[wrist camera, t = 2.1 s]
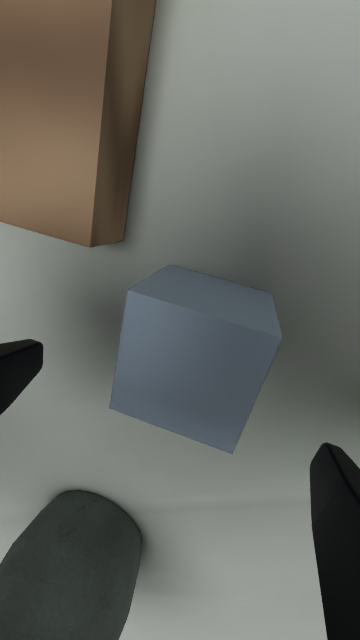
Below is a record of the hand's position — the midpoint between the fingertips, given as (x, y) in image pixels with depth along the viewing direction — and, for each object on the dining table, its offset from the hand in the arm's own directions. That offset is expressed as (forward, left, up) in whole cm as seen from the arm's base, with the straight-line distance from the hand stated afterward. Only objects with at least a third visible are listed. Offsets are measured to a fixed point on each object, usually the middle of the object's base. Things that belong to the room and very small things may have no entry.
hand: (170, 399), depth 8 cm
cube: (0, 0, -6) cm, 6 cm away
